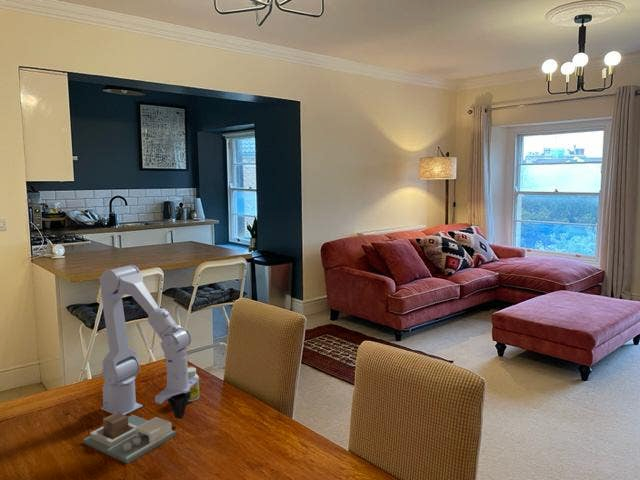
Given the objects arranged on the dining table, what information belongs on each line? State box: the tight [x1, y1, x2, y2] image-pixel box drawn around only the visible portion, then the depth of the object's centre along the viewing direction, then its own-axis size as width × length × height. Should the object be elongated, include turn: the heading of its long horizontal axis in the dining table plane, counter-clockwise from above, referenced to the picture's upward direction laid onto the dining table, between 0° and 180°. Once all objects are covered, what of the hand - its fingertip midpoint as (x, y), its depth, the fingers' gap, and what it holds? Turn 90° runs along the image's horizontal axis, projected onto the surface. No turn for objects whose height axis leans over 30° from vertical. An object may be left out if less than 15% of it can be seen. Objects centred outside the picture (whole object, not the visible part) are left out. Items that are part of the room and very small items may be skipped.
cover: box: [135, 416, 173, 443], centre depth 136 cm, size 6×7×3 cm
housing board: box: [82, 414, 177, 465], centre depth 136 cm, size 18×16×2 cm
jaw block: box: [102, 412, 129, 440], centre depth 136 cm, size 4×4×6 cm
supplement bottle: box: [187, 366, 200, 403], centre depth 160 cm, size 5×5×10 cm
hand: (179, 417), depth 144 cm, fingers closed
